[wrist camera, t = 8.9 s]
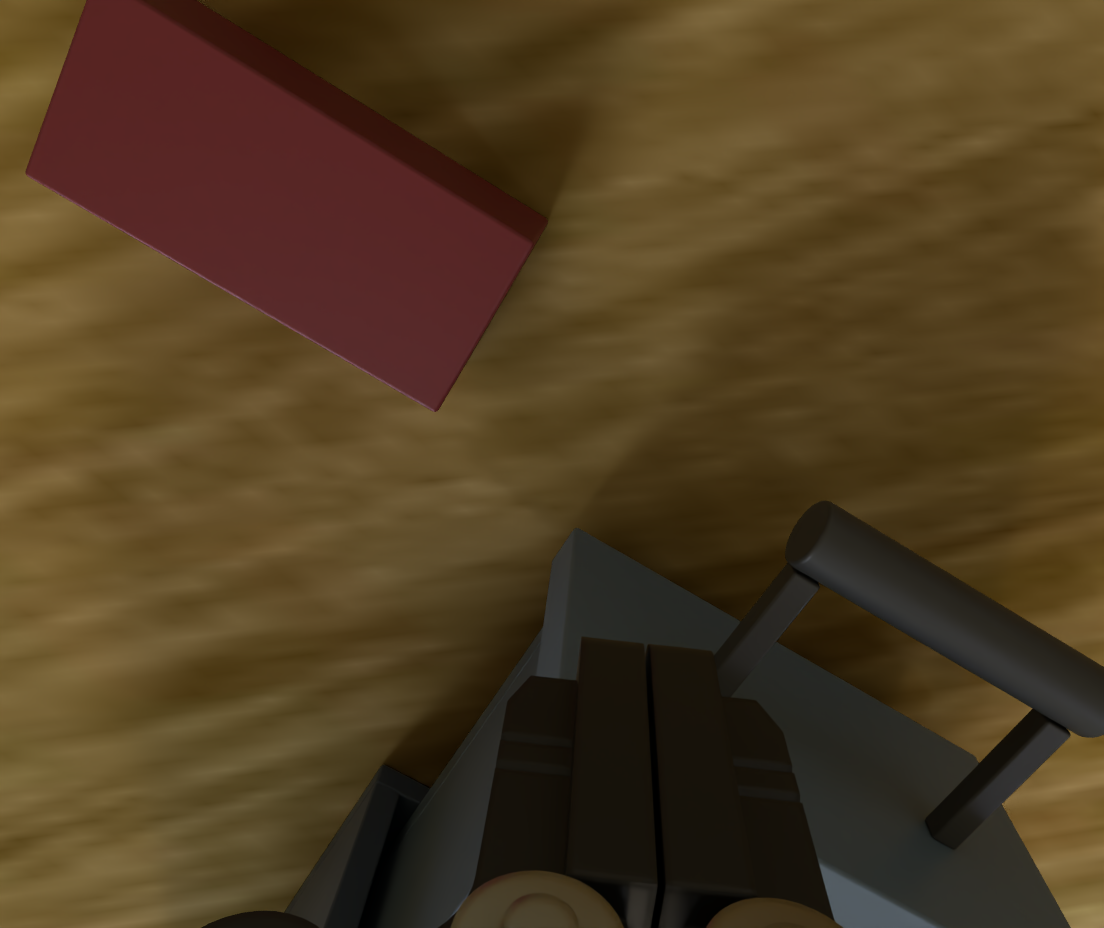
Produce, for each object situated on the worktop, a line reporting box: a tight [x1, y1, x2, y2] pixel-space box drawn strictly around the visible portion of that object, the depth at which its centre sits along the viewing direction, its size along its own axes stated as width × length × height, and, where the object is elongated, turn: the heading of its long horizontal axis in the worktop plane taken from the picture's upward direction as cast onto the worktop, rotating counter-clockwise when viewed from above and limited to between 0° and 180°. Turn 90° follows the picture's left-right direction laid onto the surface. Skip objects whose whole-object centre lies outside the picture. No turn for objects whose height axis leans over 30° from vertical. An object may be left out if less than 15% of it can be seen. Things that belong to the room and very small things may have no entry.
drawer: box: [358, 501, 1104, 928], centre depth 21 cm, size 18×12×8 cm
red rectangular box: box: [26, 0, 548, 412], centre depth 19 cm, size 9×4×4 cm, turn 59°
